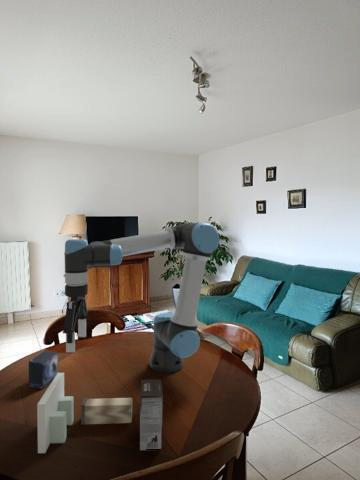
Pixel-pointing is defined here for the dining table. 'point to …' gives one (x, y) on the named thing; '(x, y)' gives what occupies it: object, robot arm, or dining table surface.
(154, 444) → the coffee box
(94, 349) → the dining table surface
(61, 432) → the base plate with tabs
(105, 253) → the robot arm
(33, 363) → the small box
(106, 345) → the dining table surface
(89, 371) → the dining table surface
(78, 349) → the dining table surface
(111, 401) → the rail
